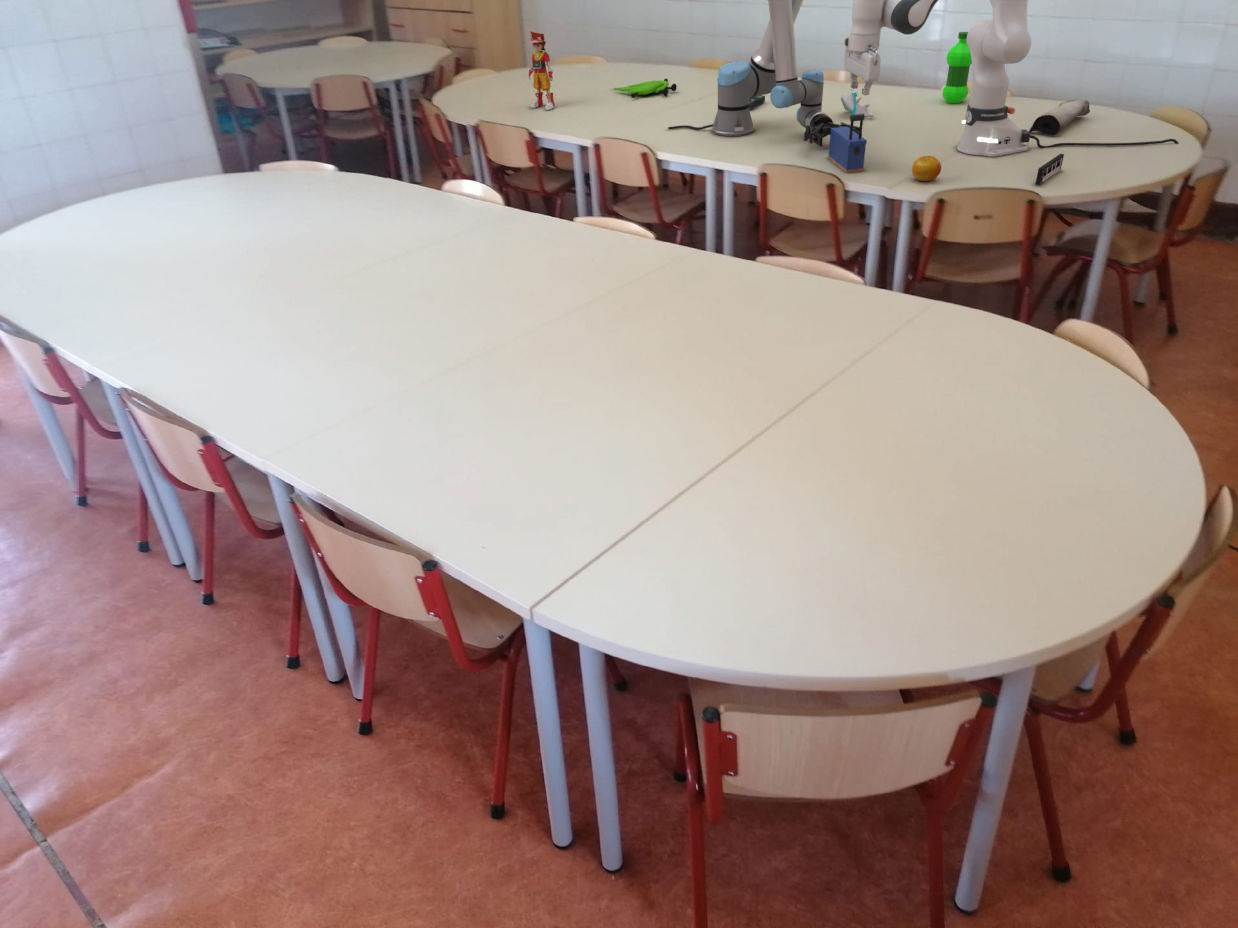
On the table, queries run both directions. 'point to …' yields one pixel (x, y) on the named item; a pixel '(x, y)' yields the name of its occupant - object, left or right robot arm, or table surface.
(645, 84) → the toy
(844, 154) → the chest
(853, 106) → the anatomical model
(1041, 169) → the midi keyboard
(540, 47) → the toy
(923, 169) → the fruit
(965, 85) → the plastic bottle
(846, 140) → the lid
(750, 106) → the disk drive
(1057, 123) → the rolled mat
